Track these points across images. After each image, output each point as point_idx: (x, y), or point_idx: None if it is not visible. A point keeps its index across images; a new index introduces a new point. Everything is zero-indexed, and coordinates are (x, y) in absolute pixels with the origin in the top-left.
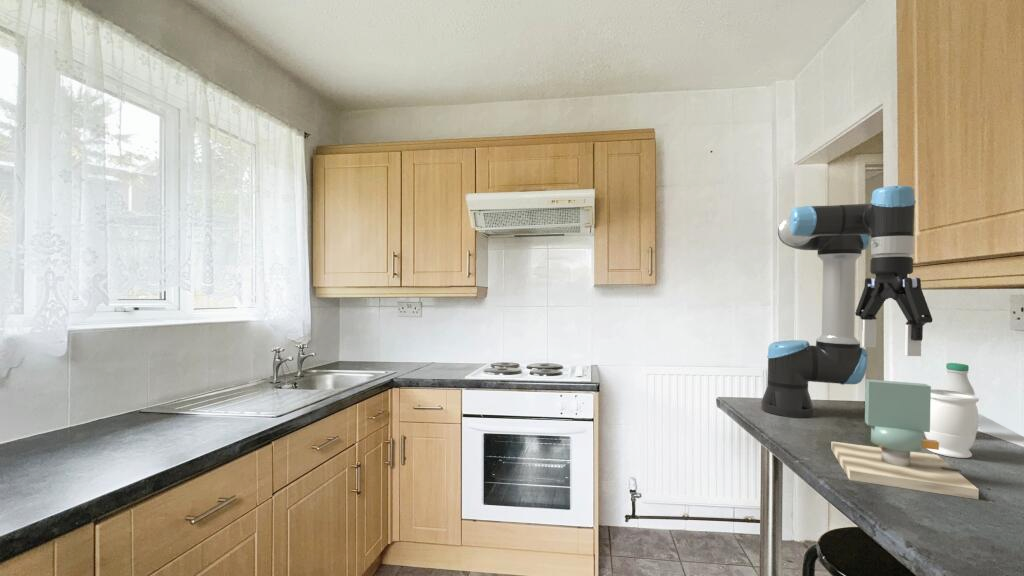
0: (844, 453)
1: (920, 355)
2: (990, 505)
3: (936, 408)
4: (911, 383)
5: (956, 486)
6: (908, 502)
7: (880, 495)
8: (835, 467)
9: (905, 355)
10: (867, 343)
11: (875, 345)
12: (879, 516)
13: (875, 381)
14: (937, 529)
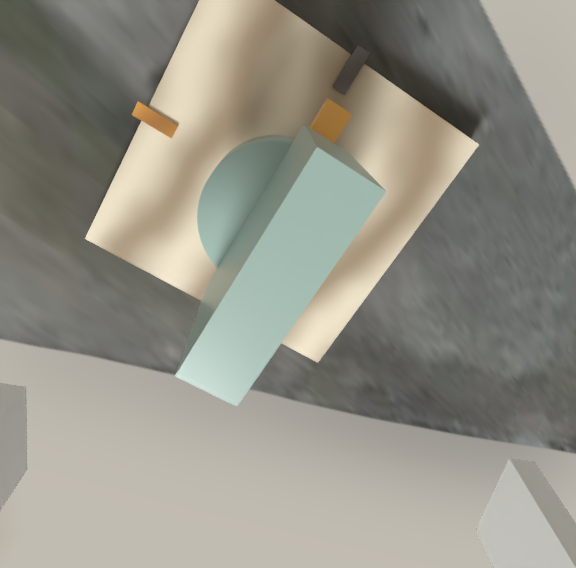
0: (197, 283)
1: (536, 469)
2: (499, 146)
3: None
4: (298, 227)
5: (448, 184)
6: (440, 321)
7: (399, 349)
8: None
9: (483, 530)
10: (10, 473)
11: (16, 402)
12: (473, 420)
13: (235, 374)
14: (540, 366)
